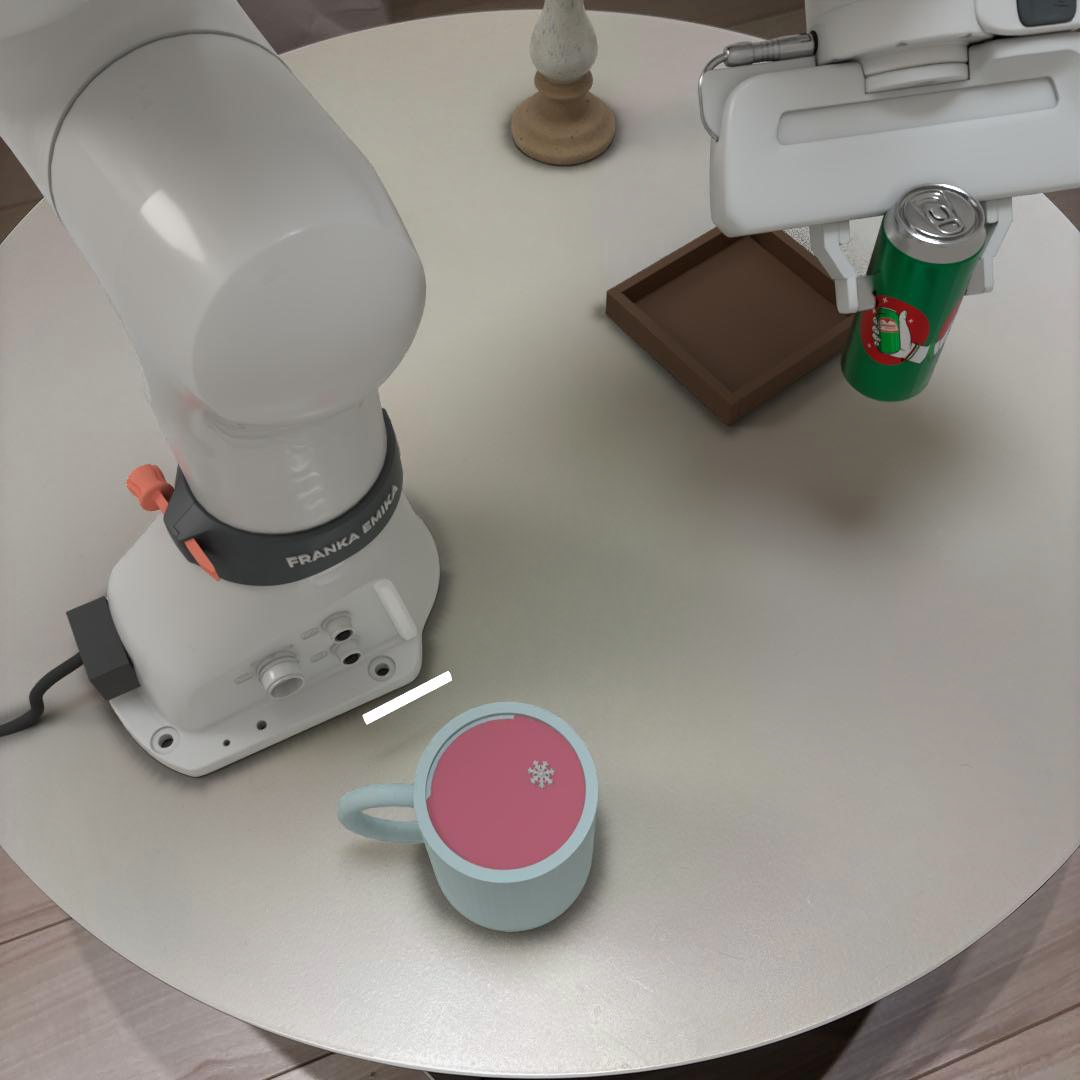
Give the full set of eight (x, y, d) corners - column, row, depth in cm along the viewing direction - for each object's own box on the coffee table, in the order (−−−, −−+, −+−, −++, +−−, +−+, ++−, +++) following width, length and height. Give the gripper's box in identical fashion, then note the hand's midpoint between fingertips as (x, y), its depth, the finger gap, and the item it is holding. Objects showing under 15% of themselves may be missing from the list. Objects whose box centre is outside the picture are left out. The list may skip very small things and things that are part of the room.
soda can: (898, 330, 67) (956, 166, 57) (945, 392, 65) (1014, 231, 55) (822, 355, 66) (867, 193, 56) (866, 419, 64) (922, 261, 54)
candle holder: (509, 165, 95) (498, -74, 78) (514, 97, 100) (505, -144, 82) (614, 167, 95) (627, -73, 77) (615, 98, 99) (627, -143, 82)
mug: (593, 772, 67) (599, 704, 59) (591, 934, 62) (596, 886, 54) (362, 765, 68) (334, 696, 59) (342, 925, 63) (309, 876, 54)
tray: (727, 426, 80) (731, 405, 78) (605, 313, 86) (606, 290, 84) (872, 329, 85) (880, 307, 83) (747, 228, 91) (751, 205, 89)
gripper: (709, 34, 53) (739, 334, 56) (1128, -21, 54) (1134, 275, 57) (679, 60, 59) (707, 329, 62) (1056, 11, 60) (1065, 276, 64)
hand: (915, 303), depth 60 cm, fingers closed on soda can, 5 cm apart
